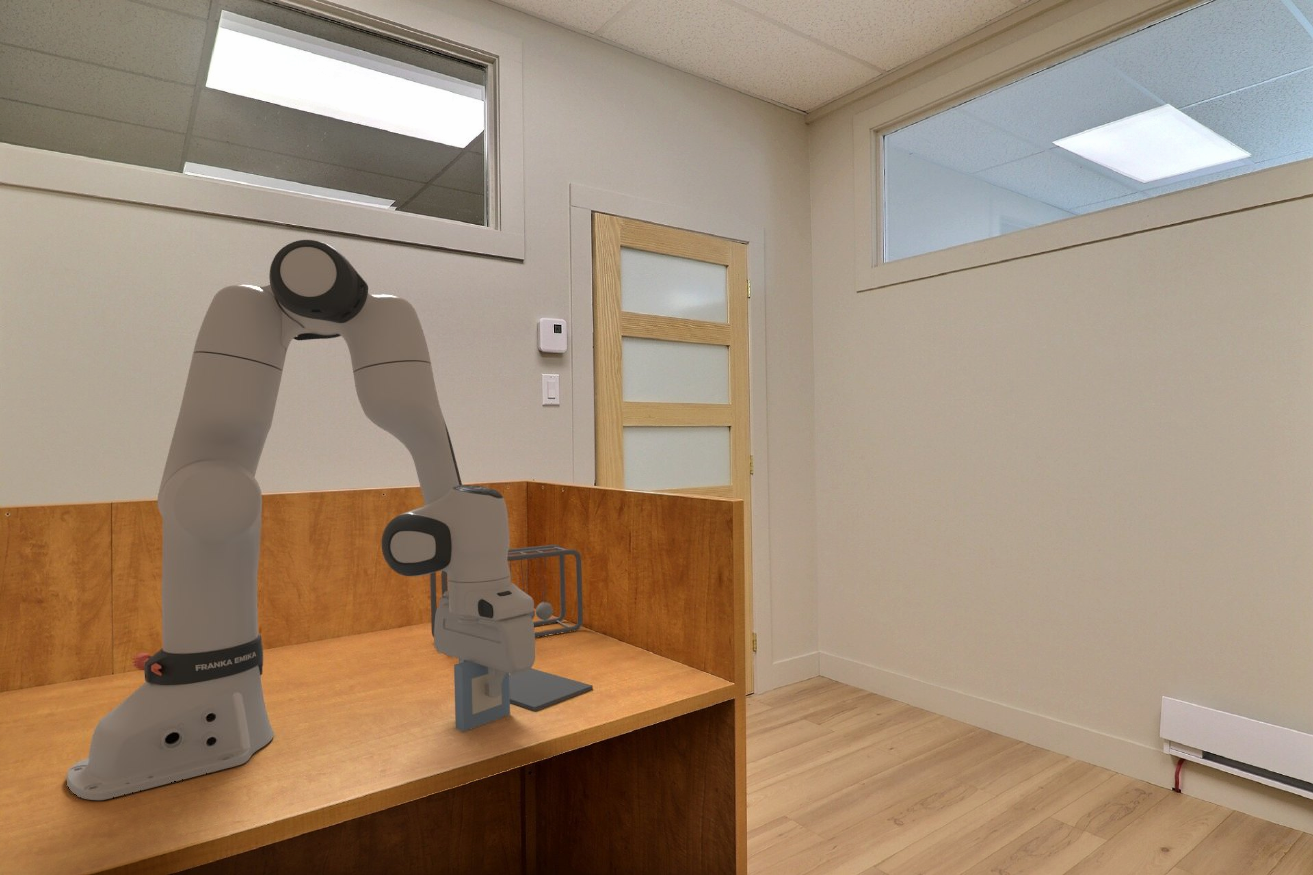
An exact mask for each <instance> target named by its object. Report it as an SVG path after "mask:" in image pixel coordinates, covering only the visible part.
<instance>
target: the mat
mask: <svg viewBox="0 0 1313 875" xmlns="http://www.w3.org/2000/svg"><path fill="white" fill-rule="evenodd" d="M593 688H594V686H593V685H591V684H588V683H586V682H581V681H577V680H574V679H572V678H568V677H564V676H561V675H560V676H559V675H556V674H553V673H551V672H550V673H549V672H546V671H543V670H538V669H535V668H532V667H531V669H529V670H527V671H524V672H521V673H517V674H509V690H510V704H513V705H516V706H518V707H520V708H521V707H522V708H524V709H526V710H529V711H533V712H536V711H539V710H541V709H544V708H547V707H549V706H552V705H554V704H558V703H560V702H563V701H565V700H568V699H571V698H573V697H576V696H579V695H581V694H584V693H586V692H589V691H592V690H593Z"/></svg>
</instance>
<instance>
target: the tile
mask: <svg viewBox="0 0 1313 875" xmlns="http://www.w3.org/2000/svg"><path fill="white" fill-rule="evenodd" d="M453 673H454V674H453V677H454V681H453V682H454V684H453V685H454V714H455V716H454V717H455V721H454V722H455V729H456V730H458V729H459V731H460V730H461V731H460V732H463V733H464V732H467V731H470V730H472V729H471V728H473V729H475V728H474V727H476V728H478V727H480V726H479V725H481V726H483V725H486V724H488V723H492V722H494V721H496V719H497V720H500V719H502V718H505V717H508V716H510V715H511V703H510V690H509V673H506V674H505V676H504V679H503V681H502V683H501V695H500V696H498V697H495V698H491V697H488V696H486V695H485V684H488V683H489V680H490V677H491V674H489V673H488V667H486V666H482V665H479V664H476V663H474V662H470V661H466V662H462V663H459V662H458V663H456V664H453ZM509 714H510V715H509ZM504 716H505V717H504ZM491 721H492V722H491ZM469 729H470V730H469ZM466 730H467V731H466Z"/></svg>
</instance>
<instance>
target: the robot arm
mask: <svg viewBox="0 0 1313 875" xmlns="http://www.w3.org/2000/svg"><path fill="white" fill-rule="evenodd" d="M268 274H269V277H268V278H269V284H267V285H266V286H259V287H258V286H255V285H251V284H233V285H228V286H224V287H223V288H221V289H220V290H219V291H218V292H217V293H216V294H215V295H214V297H213V298H212V301H211V303H210V304H209V307H208V308H207V311H206V313H205V315H204V317H203V320H202V322H201V325H200V329H199V331H198V334H197V337H196V341H195V345H194V348H193V352H192V356H191V361H190V366H189V368H188V374H187V378H186V381H185V382H186V383H185V388H184V391H183V396H182V400H181V403H180V404H181V406H180V409H179V413H178V415H177V416H178V417H177V420H176V424H175V427H174V431H173V436H172V439H171V442H170V446H169V450H168V454H167V457H166V462H165V465H164V469H163V473H162V476H161V477H162V478H161V481H160V486H159V489H158V494H157V508H158V512H159V513H160V515H161V517H162V572H161V622H162V625H161V628H162V630H161V633H162V637H161V638H162V647H161V649H160V650H158V651H157V652H156V653H154V654H153V655H151V654H149V653H147V652H140V653H138V654H136V655H135V657H133V659H132V664H133V666H134V667H135V669H138V670H140V671H144V674H143V675H144V681H145V682H144V683H142V685H140V686H139V687H138V688H137V689H136V690H135V691H133V692H132V693H130V695H129V696H127V697H126V698H125V699H124V700H122V702H120V703H119V704H117V705H116V706H115V707H114V708H113V709H111V710H110V711H109V712H108V713H107V714H105V715H104V716H103V717H102V718H101V719H100V720H99V721H98V723H97V725H96V727H95V728H94V731H93V734H92V737H91V741H90V745H89V751H88V757H87V758H83V759H82V760H78V761H77V762H75V763H74V764H72V766H70V767H69V769H68V770H67V772H66V779H65V782H66V781H67V785H66V787H67V786H68V787H69V789H70V790H71V791H72V792H73V793H74V794H76V795H77V796H76V795H75V796H76V797H79V798H80V797H81V799H85V800H91V801H104V800H110V799H113V797H114V798H117V797H121V796H125V795H129V794H133V793H137V792H140V790H141V791H144V790H149V789H152V788H156V787H160V786H163V785H168V784H171V782H172V783H175V782H174V781H176V782H179V781H182V779H183V780H187V779H191V778H195V777H199V776H203V775H206V773H207V774H209V773H211V774H212V773H214V772H218V771H222V770H225V769H229V768H233V767H238V766H240V765H243V764H245V763H246V762H248V761H249V760H250V758H251V757H252V755H253V754H254V753H255V752H257V751H258V750H260V749H261V748H263V747H265V746H266V745H268V744H269V743H270V741H272V739H273V738H274V737H275V734H274V730H273V728H272V725H271V723H270V718H269V716H268V712H267V708H266V703H265V699H264V693H263V692H264V691H263V685H262V675H263V667H264V647H263V646H264V645H263V643H262V642H263V641H262V636H261V635H260V634H259V619H258V618H259V612H258V611H259V610H258V573H259V571H258V570H259V565H260V564H259V563H260V552H261V551H260V550H261V540H262V537H261V536H262V512H263V511H262V510H263V495H262V490H261V487H260V485H259V483H258V481H257V479H256V477H255V476H256V473H257V469H258V467H259V462H260V459H261V456H262V452H263V449H264V446H265V444H266V441H267V437H268V434H269V432H270V429H271V427H272V424H273V419H274V413H275V410H276V404H277V400H278V395H279V391H280V387H281V386H280V385H281V381H282V376H283V371H284V366H285V362H286V356H287V352H288V349H289V347H290V344H291V342H292V340H296V341H308V340H309V341H310V340H311V341H312V340H328V339H336V338H339V337H342V338H343V340H344V341H345V343H346V344H347V348H348V351H349V354H350V360H351V361H350V362H351V367H352V373H353V378H354V379H353V380H354V387H355V391H356V396H357V398H358V401H359V403H360V404H359V405H360V406H361V409H362V411H363V413H364V415H365V416H366V417H367V419H369V420H370V422H371V423H373V424H374V425H376V426H377V427H378V428H380V429H382V430H384V431H386V432H387V433H388V434H391V436H393V438H396V439H397V441H399V442H400V443H401V444H402V445H403V446H404V447H405V448H406V449H407V451H408V452H409V453H410V455H411V457H412V461H413V464H414V466H415V471H416V473H417V474H416V475H417V479H418V483H419V486H420V489H421V490H420V491H421V494H422V498H423V501H424V506H421V507H418V508H415V509H411V510H410V511H406V512H403V513H401V514H399V515H397V516H395V517H393V519H391V520H390V521H389V522H388V523H387V525H386V526H385V528H384V530H383V533H382V537H381V551H382V555H383V557H384V560H385V562H386V564H387V565H388V567H389V568H390V569H391V570H393V571H394V572H395V573H397V574H399V575H401V576H404V577H423V576H426V575H430V573H434V572H436V573H438V572H442V571H445V572H446V573H447V587H448V591H445V592H444V594H443V595H442V594H441V596H440V597H439V600H438V602H439V603H438V605H439V606H437V610H436V615H435V626H434V637H433V645H434V647H435V650H436V652H437V653H439V654H443V655H446V656H450V657H453V658H457V659H458V664H459V663H462V662H466V661H470V662H474V663H476V664H479V665H482V666H486V667H488V673H489V674H491V677H490V680H489V683H488V684H485V695H486V696H488V697H491V698H495V697H498V696H500V695H501V683H502V681H503V679H504V676H505V674H506V673H509V674H517V673H521V672H524V671H527V670H529V669H531V668H532V667H533V665H534V663H535V660H536V638H535V633H536V631H535V627H534V624H533V622H534V621H533V620H532V618H531V617H530V616H529V615H528V614H527V613H530V612H533V610H534V611H535V602H534V601H535V600H534V599H533V597H532V596H530V595H529V594H528V593H527V594H526V592H525V591H524V590H522V589H521V588H519V587H518V586H517V585H516V584H515V583H514V582H511V581H512V579H511V575H512V573H511V574H510V565H509V561H507V556H509V555H508V550H509V549H510V547H511V546H510V545H511V544H510V541H511V540H510V539H511V538H510V524H509V515H508V508H507V504H506V501H505V498H504V496H503V495H502V494H501V493H500V492H499V491H498V490H496V489H494V488H490V487H486V486H482V485H470V484H469V485H467V484H464V485H463V483H462V478H461V476H460V471H459V468H458V464H457V459H456V456H455V451H454V448H453V444H452V440H451V436H450V433H449V430H448V427H447V424H446V421H445V417H444V414H443V412H442V409H441V406H440V401H439V396H438V393H437V389H436V384H435V376H434V373H433V368H432V362H431V356H430V352H429V347H428V343H427V340H426V337H425V333H424V330H423V327H422V324H421V322H420V319H419V316H418V314H417V311H416V309H415V308H414V306H413V305H412V304H411V303H410V302H409V301H408V300H406V299H404V298H402V297H400V296H398V295H392V294H371V293H369V286H368V283H367V282H366V281H365V280H364V278H363V277H362V276H361V275H360V273H358V271H357V270H356V268H355V267H354V266H353V265H352V264H351V262H350V261H349V260H348V259H347V258H345V256H344V255H343V254H342V253H341V252H339V251H338V250H337V249H336V248H334V247H333V246H331V245H329V244H327V243H326V242H322V241H319V240H315V239H300V240H295V241H293V242H290V243H288V244H286V245H284V246H283V247H282V248H281V249H280V250H279V251H277V253H276V254H275V256H274V257H273V259H272V261H271V264H270V268H269V273H268ZM68 787H67V788H68ZM69 789H68V790H69ZM70 790H69V791H70ZM71 791H70V792H71ZM72 792H71V793H72ZM132 792H133V793H132ZM73 793H72V794H73ZM74 794H73V795H74ZM124 794H125V795H124Z"/></svg>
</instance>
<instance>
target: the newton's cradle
mask: <svg viewBox="0 0 1313 875" xmlns="http://www.w3.org/2000/svg"><path fill="white" fill-rule="evenodd" d="M567 555H573V556H574V557H575V562H576V563H575V565H576V566H575V567H576V568H575V570H576V572H575V574H576V598H577V599H576V600H577V601H576V603H577V605H576V606H577V608H576V609H577V621H576V624H575V625H572V626H570V625H569V624H566V623H564V622H562V621H563V620H564V618H566V615H567V614H566V613H567V609H566V608H567V606H566V574H565V572H566V570H565V556H567ZM581 556H582V555H581V554H580V552H579V551H578V550H576V549H574V548H568V549H566V548H563V547H561V546H560V545H558V544H548V545H538V546H529V547H519V548H509V550H508V556H507V561H508V562H509V563H510V565H509V569H510V574H511V575H512V561H513V562H514V561H520V567H521V569H523V563H522V560H527V562H529V560H531V559H537V564H538V571H539V572H538V573H539V581H540V582H539V583H540V589H541V596H542V602H540V603H539V604H538V605H536V608H535V609H534V610H533V612H530V613H527V614H528V615H529V616H530V617H531V618H532V620H533V619H534V618H535V616H536V617H537V618H538V619H540V620H538V621H537V620H536V621H533V624H534V626H536V627H540V626H539V625H542V626H544V625H543V624H548V623H554V624H560V625H562V626H564V627H560V628H555V629H548V630H543V631H537V632H536V631H535V637H538V636H544V637H546V636H545V635H549V634H556V635H558V634H557V633H561V632H568V633H571V632H570V631H574V630H577V631H578V630H579V629H581V627H582V626H583V622H584V612H583V611H584V610H583V603H584V602H583V576H582V575H583V574H582V573H583V572H582V568H583V567H582V557H581ZM549 557H550V558H551V557H558V558H559V562H558V563H559V596H560V598H559V599H560V613H559V616H558V617H555V618H551V617H552V615H553V613H554V608H553V606H552V605H551V603H549V602H546V582H544V586H542V579H541V578H542V576H541V570H540V569H541V568H540V560H539V559H540V558H544V567H546V564H547V563H546V561H547V560H546V558H549ZM436 575H437V572H434V573H430V574H429V579H430V580H429V581H430V584H429V585H430V620H431V623H430V624H431V625H430V626H431V635H432V637H433V638H434V626H435V615H436V610H437V608H438V606H437V576H436ZM440 576H441V577H440V578H441V582H440V584H441V596H442V595H443V594H444V592H445V591H449V590H448V574H447V573H446V572H445V571H441V574H440ZM521 577H522V580H524V572H523V570H521ZM528 579H529V567H527V570H526V587H528V584H529V583H528V581H529V580H528ZM543 587H544V588H543ZM522 588H523V590H522V591H525V585H524V581H522ZM543 589H544V591H543ZM525 593H526V594H527V595H528V591H526V592H525ZM543 593H544V594H543ZM560 621H561V622H560ZM556 622H558V623H556ZM548 625H549V624H548ZM574 632H575V631H574Z"/></svg>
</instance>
